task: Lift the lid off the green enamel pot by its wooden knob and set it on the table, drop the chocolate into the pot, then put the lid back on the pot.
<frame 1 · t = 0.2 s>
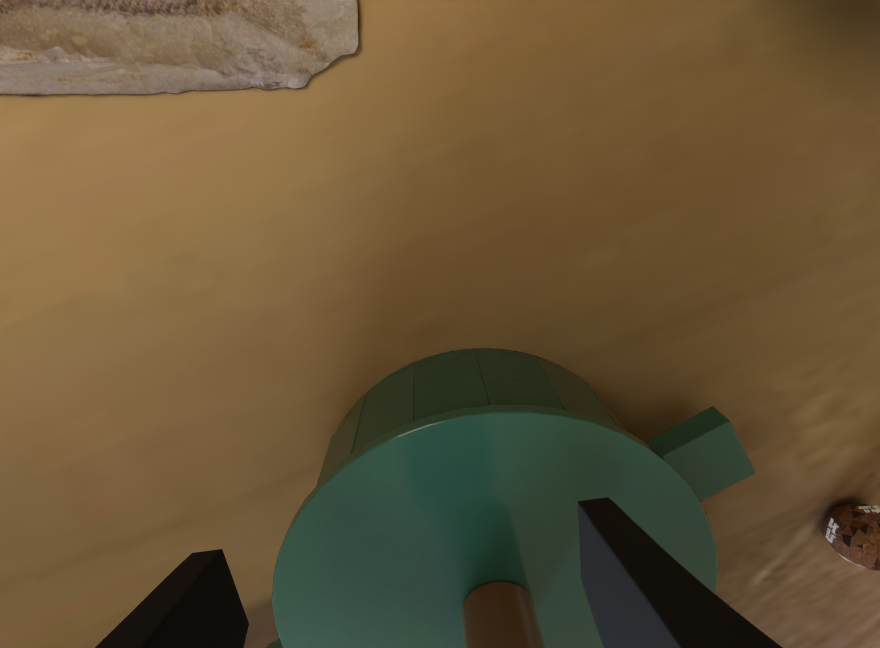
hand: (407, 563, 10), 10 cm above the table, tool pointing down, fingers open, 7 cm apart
pot: (477, 488, 21), on the table
pot lid: (495, 595, 16), point 5 cm above the table, touching pot
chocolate: (838, 506, 23), on the table
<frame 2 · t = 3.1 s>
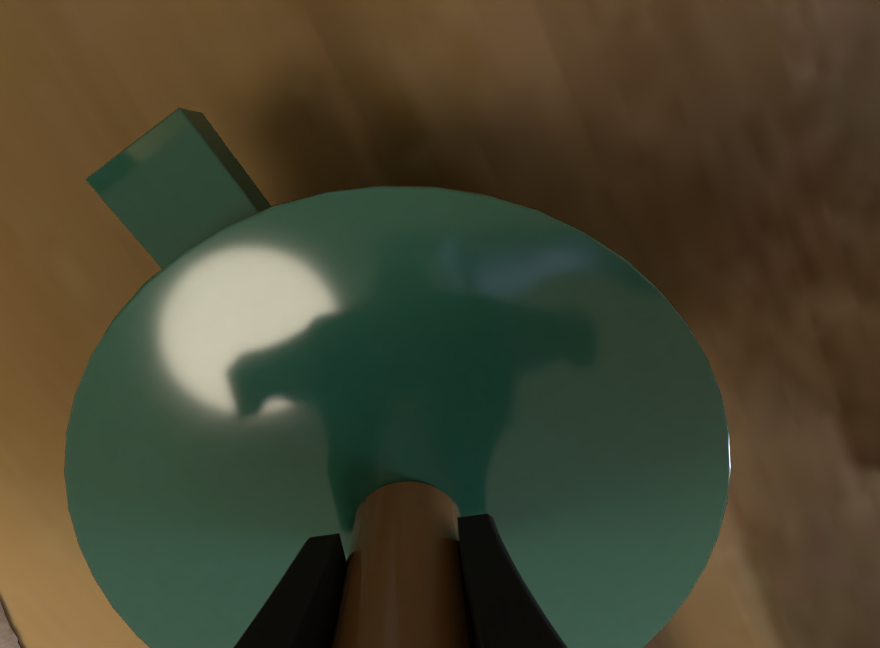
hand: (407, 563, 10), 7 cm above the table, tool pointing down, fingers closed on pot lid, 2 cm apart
pot: (412, 397, 16), on the table
pot lid: (408, 508, 11), point 5 cm above the table, touching gripper, pot
when the fingers open (2 cm above the table, at t = 8.2 s): pot lid stays where it is, point 1 cm above the table.
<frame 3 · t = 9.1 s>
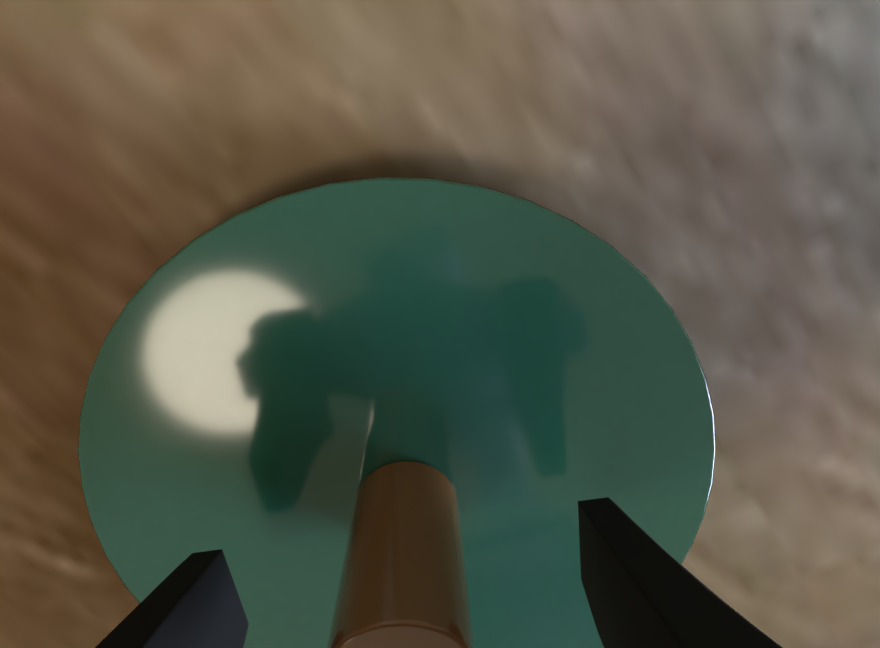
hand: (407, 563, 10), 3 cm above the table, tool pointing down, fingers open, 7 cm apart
pot lid: (407, 489, 12), point 1 cm above the table
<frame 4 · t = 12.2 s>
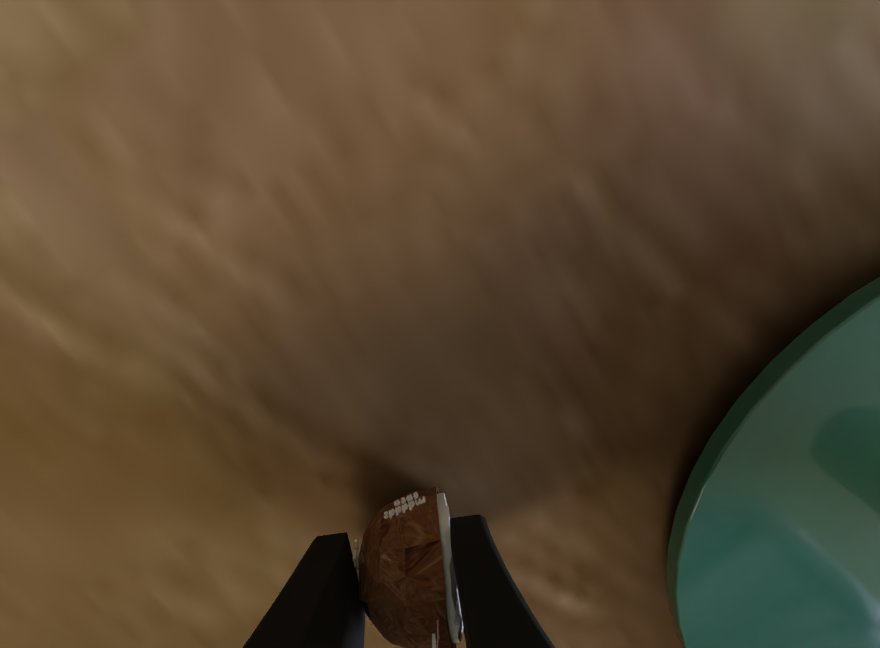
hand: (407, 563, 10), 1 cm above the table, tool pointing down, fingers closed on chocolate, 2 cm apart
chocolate: (410, 508, 11), on the table, touching gripper
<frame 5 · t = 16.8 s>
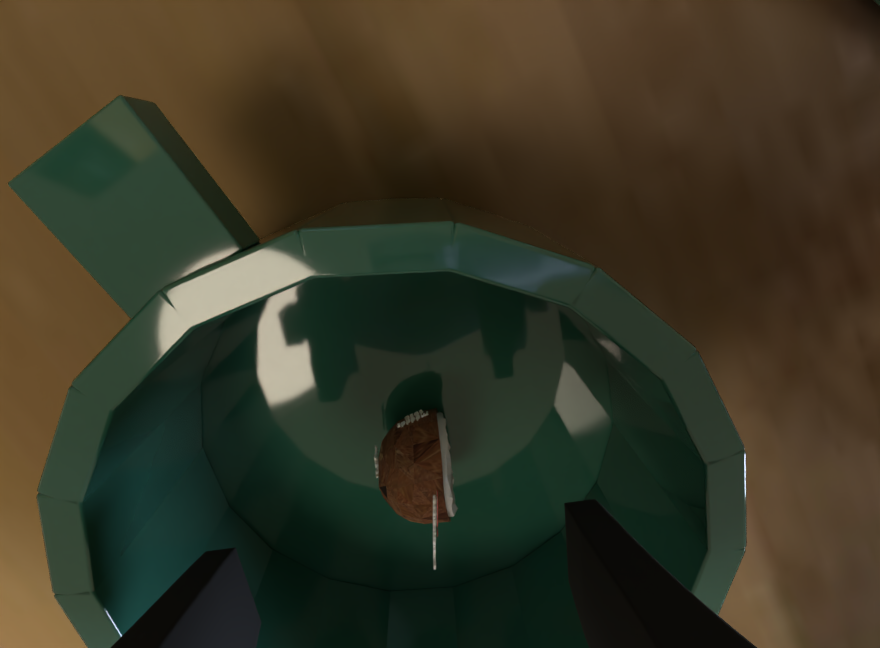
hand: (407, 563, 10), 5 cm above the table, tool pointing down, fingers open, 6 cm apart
pot: (410, 425, 15), on the table
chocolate: (416, 431, 14), resting on pot
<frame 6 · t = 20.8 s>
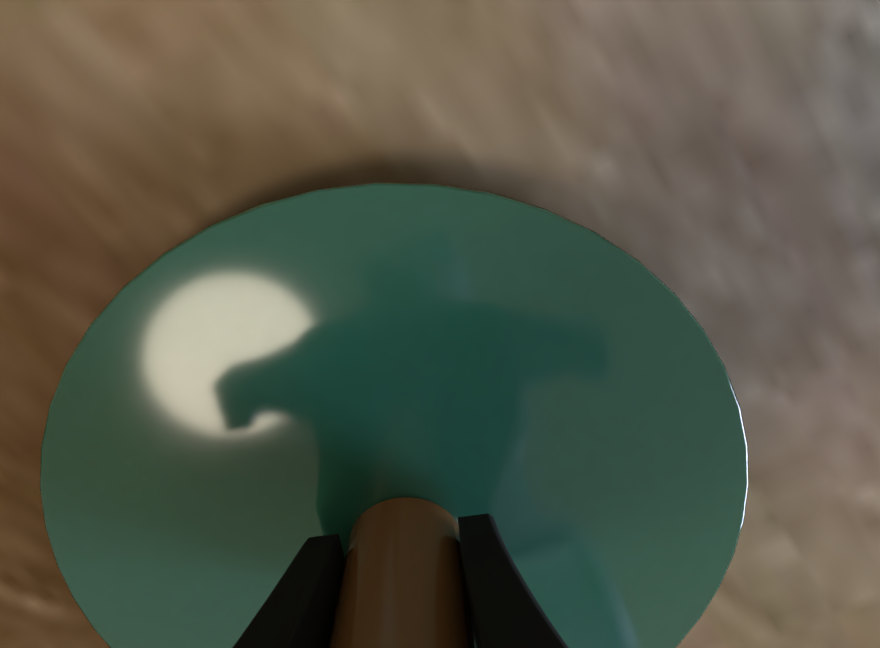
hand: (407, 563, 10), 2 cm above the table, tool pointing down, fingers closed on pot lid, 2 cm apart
pot lid: (406, 524, 10), point 1 cm above the table, touching gripper
when the fingers open (6 cm above the table, at t = 26.0 s): pot lid stays where it is, resting on pot.
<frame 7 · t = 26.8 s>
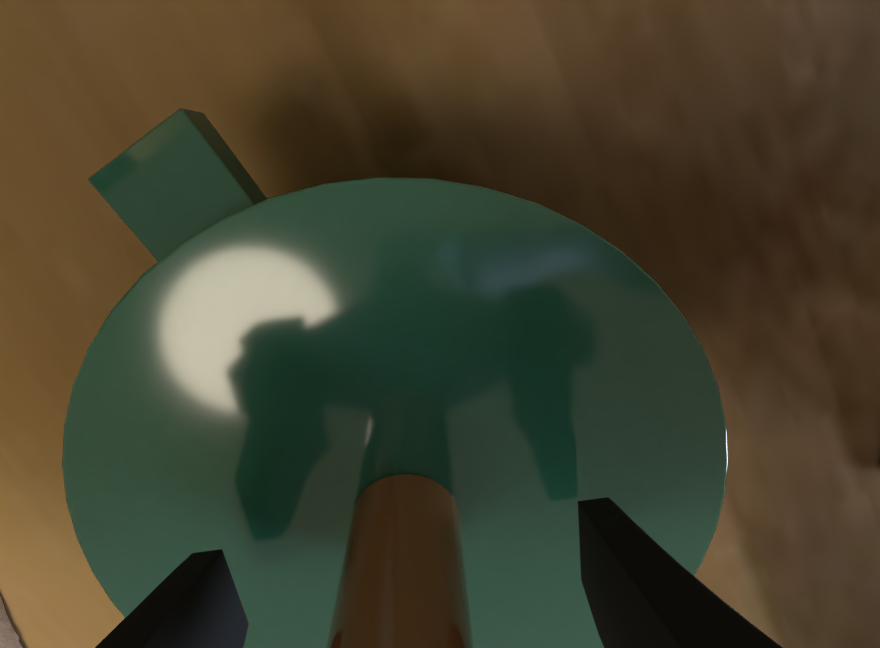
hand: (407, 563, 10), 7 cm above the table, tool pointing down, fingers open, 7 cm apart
pot: (412, 396, 16), on the table
pot lid: (406, 502, 11), point 5 cm above the table, touching pot
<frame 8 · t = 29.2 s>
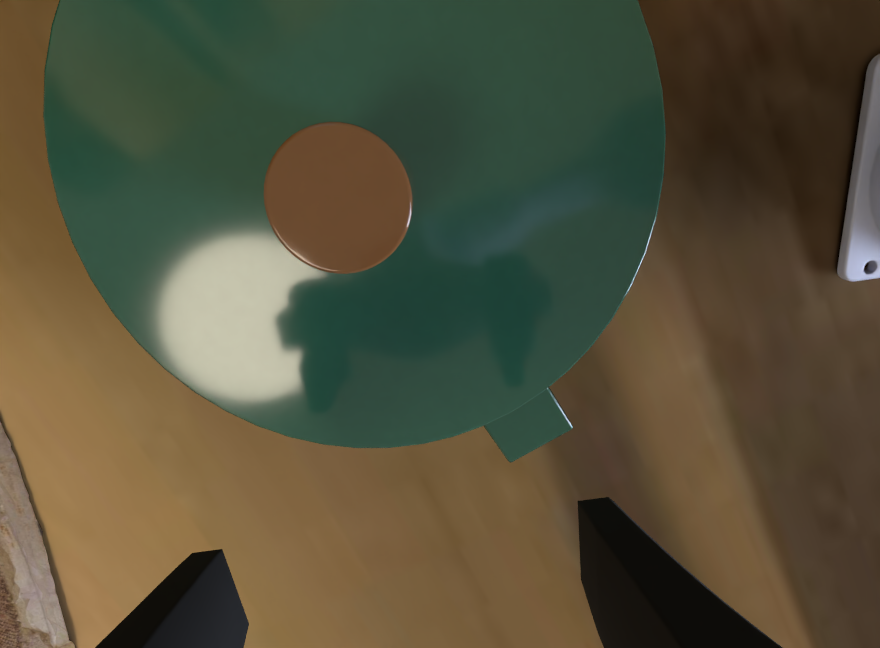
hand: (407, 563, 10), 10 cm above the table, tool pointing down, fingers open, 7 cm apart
pot: (385, 183, 17), on the table
pot lid: (367, 187, 12), point 5 cm above the table, touching pot
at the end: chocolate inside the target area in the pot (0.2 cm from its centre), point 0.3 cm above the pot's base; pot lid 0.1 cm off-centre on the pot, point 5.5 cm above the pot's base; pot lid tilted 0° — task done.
